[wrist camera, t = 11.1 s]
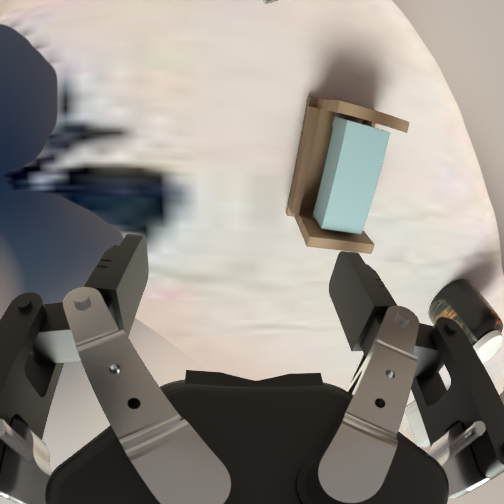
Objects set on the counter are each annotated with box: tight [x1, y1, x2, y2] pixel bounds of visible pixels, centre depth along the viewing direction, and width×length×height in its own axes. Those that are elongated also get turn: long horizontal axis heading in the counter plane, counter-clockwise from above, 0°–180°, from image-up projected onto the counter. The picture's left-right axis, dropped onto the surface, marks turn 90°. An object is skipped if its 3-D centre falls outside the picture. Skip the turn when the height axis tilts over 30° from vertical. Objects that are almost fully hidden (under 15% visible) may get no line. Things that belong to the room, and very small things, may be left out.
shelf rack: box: [286, 97, 409, 254], centre depth 32 cm, size 9×16×9 cm, turn 172°
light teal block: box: [313, 117, 390, 234], centre depth 31 cm, size 5×12×4 cm, turn 171°
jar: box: [429, 279, 503, 364], centre depth 44 cm, size 12×12×15 cm
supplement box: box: [405, 401, 430, 448], centre depth 66 cm, size 9×9×15 cm
